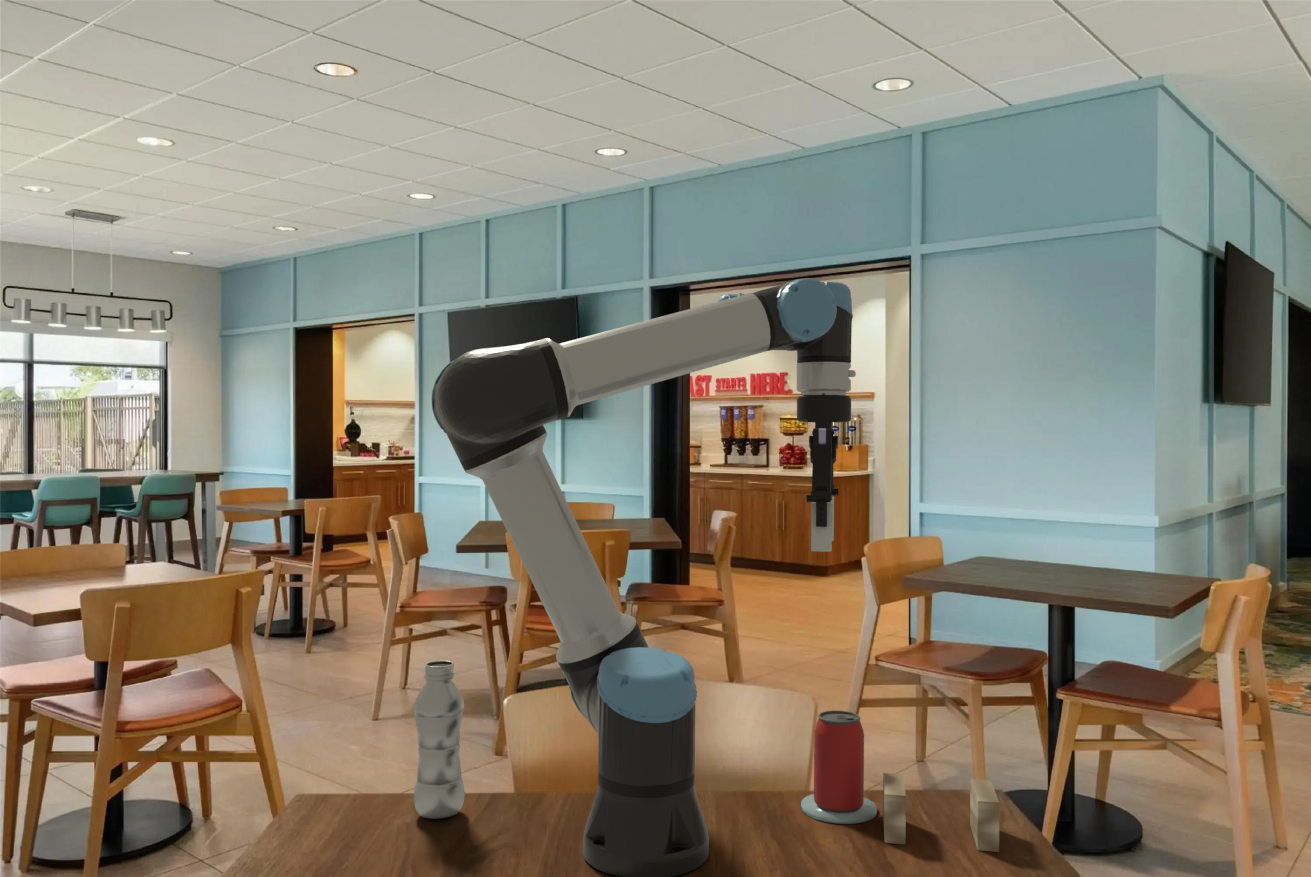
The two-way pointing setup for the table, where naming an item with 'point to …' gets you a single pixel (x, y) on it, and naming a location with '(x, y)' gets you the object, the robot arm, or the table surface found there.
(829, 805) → the beer can
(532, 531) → the robot arm
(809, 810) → the coaster
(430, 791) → the plastic bottle
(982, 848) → the block
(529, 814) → the table surface
